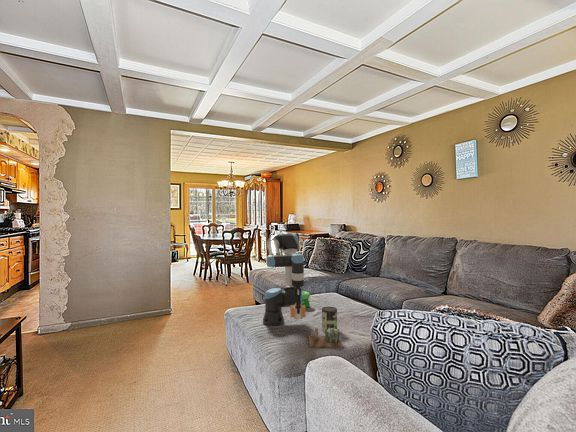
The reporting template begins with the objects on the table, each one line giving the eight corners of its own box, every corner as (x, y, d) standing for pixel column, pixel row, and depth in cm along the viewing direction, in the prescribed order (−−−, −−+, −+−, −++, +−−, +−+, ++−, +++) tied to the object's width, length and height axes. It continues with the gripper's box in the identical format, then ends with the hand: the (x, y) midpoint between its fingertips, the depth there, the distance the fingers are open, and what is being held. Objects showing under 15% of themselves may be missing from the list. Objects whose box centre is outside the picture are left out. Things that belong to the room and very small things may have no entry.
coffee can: (339, 328, 203) (339, 307, 203) (333, 334, 194) (333, 312, 194) (325, 325, 209) (325, 305, 208) (319, 330, 200) (318, 309, 200)
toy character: (289, 306, 255) (288, 290, 254) (311, 304, 254) (309, 289, 254) (289, 309, 245) (288, 294, 245) (311, 308, 244) (310, 292, 244)
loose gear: (290, 319, 181) (290, 309, 181) (290, 313, 190) (290, 304, 190) (305, 318, 181) (305, 308, 181) (304, 313, 190) (304, 303, 190)
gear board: (310, 347, 175) (310, 333, 175) (308, 337, 189) (308, 324, 189) (342, 347, 176) (342, 333, 175) (338, 337, 190) (338, 324, 189)
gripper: (305, 283, 174) (305, 322, 175) (302, 275, 195) (303, 309, 196) (292, 284, 174) (292, 322, 174) (291, 275, 195) (291, 309, 196)
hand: (298, 315), depth 185 cm, fingers closed on loose gear, 9 cm apart
